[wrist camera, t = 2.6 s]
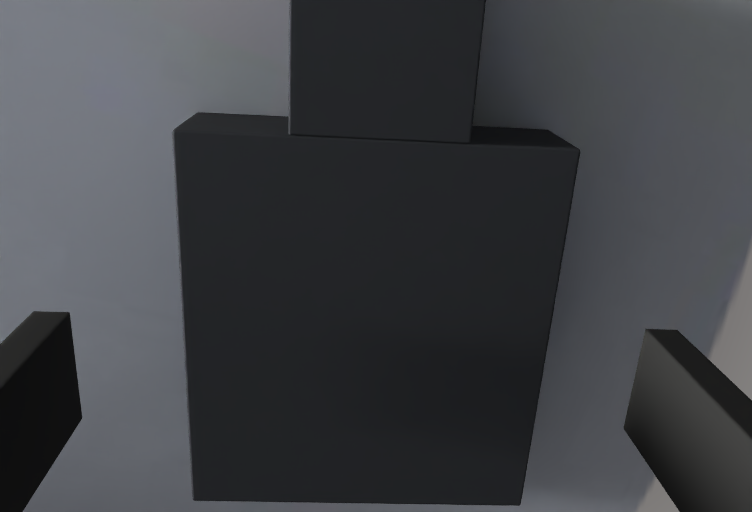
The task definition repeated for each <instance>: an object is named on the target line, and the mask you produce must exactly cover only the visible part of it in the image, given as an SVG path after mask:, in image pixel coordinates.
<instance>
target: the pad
mask: <svg viewBox="0 0 752 512" xmlns="http://www.w3.org/2000/svg"><path fill="white" fill-rule="evenodd" d="M485 4H486V0H290V14H289V117H280V116H260V115H240V114H220V113H199V112H198V113H196V114H195V115H193V116H192V117H191V118H189V119H188V120H186V121H185V122H184V123H182V124H181V125H179V126H178V127H177V128H175V129H174V130H173V131H172V138H173V156H174V174H175V192H176V210H177V228H178V246H179V264H180V282H181V300H182V318H183V336H184V354H185V372H186V390H187V408H188V426H189V444H190V462H191V480H192V497H193V500H194V501H254V502H319V503H384V504H450V505H515V506H519V505H520V504H521V499H522V493H523V487H524V481H525V476H526V470H527V464H528V458H529V452H530V446H531V440H532V434H533V428H534V422H535V416H536V411H537V405H538V399H539V393H540V387H541V381H542V375H543V369H544V363H545V357H546V351H547V346H548V340H549V334H550V328H551V322H552V316H553V310H554V304H555V298H556V292H557V287H558V281H559V275H560V269H561V263H562V257H563V251H564V245H565V239H566V233H567V227H568V222H569V216H570V210H571V204H572V198H573V192H574V186H575V180H576V174H577V168H578V162H579V157H580V149H578V148H577V147H575V146H573V145H572V144H570V143H568V142H567V141H565V140H564V139H562V138H560V137H559V136H557V135H556V134H554V133H552V132H551V131H549V130H542V129H522V128H502V127H482V126H472V124H473V115H474V105H475V96H476V87H477V78H478V68H479V59H480V50H481V41H482V31H483V22H484V13H485Z"/></svg>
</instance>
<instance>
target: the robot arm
mask: <svg viewBox="0 0 752 512" xmlns="http://www.w3.org/2000/svg"><path fill="white" fill-rule="evenodd" d="M81 419H82V412H81V404H80V396H79V387H78V379H77V371H76V362H75V354H74V346H73V337H72V329H71V320H70V312H38V311H34V312H33V313H32V314H31V315H30V316H29V317H28V318H26V319H25V320H24V321H23V322H22V323H21V324H20V325H19V326H18V327H17V328H16V329H15V330H14V331H13V332H12V333H11V334H10V335H9V336H8V337H7V338H6V339H5V340H4V341H3V342H2V343H1V344H0V512H23V510H24V508H25V507H26V505H27V504H28V502H29V501H30V499H31V497H32V496H33V494H34V493H35V491H36V490H37V488H38V487H39V485H40V483H41V482H42V480H43V479H44V477H45V476H46V474H47V472H48V471H49V469H50V468H51V466H52V465H53V463H54V462H55V460H56V458H57V457H58V455H59V454H60V452H61V451H62V449H63V447H64V446H65V444H66V443H67V441H68V440H69V438H70V437H71V435H72V433H73V432H74V430H75V429H76V427H77V426H78V424H79V422H80V421H81ZM624 430H625V431H626V433H627V434H628V436H629V437H630V439H631V440H632V442H633V443H634V445H635V446H636V448H637V449H638V451H639V452H640V454H641V455H642V456H643V458H644V459H645V461H646V462H647V464H648V465H649V467H650V468H651V470H652V471H653V473H654V474H655V476H656V477H657V479H658V480H659V482H660V483H661V484H662V486H663V487H664V489H665V491H666V492H667V494H668V495H669V496H670V498H671V499H672V501H673V502H674V504H675V505H676V507H677V508H678V510H679V511H680V512H752V400H751V399H749V398H748V397H747V396H746V395H745V394H744V393H743V392H742V391H741V390H740V389H739V388H738V387H737V386H736V385H735V384H734V383H733V382H732V381H730V380H729V379H728V378H727V377H726V376H725V375H724V374H723V373H722V372H721V371H720V370H719V369H718V368H717V367H716V366H715V365H714V364H712V362H711V361H709V360H708V359H707V358H706V357H705V356H704V355H703V354H702V353H701V352H700V351H699V350H698V349H697V348H696V347H695V346H694V345H693V344H692V343H691V342H689V341H688V340H687V339H686V338H685V337H684V336H683V335H682V334H681V333H680V332H679V331H678V330H665V329H645V334H644V338H643V343H642V347H641V352H640V356H639V361H638V365H637V370H636V374H635V379H634V383H633V388H632V392H631V397H630V401H629V406H628V410H627V415H626V419H625V424H624Z"/></svg>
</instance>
